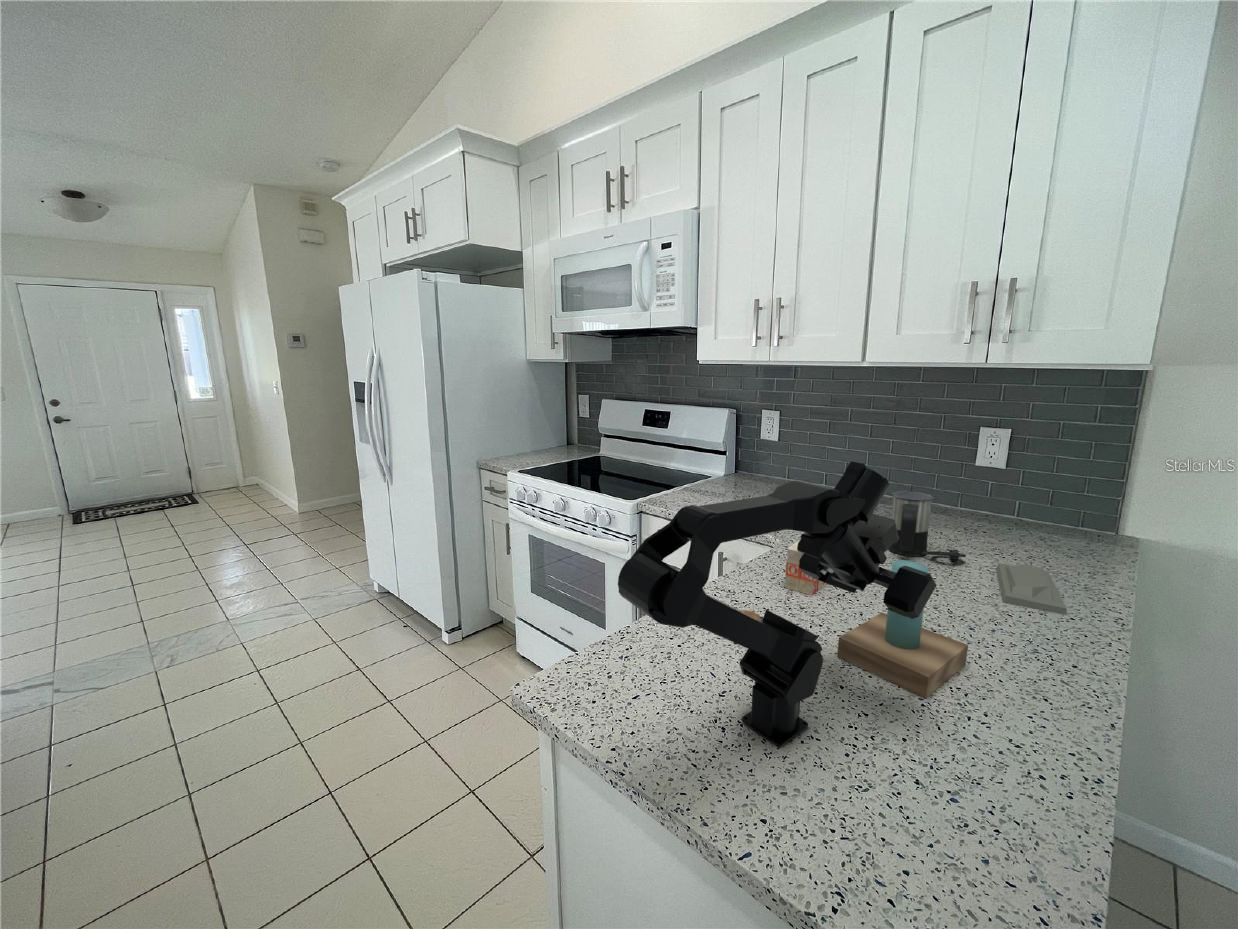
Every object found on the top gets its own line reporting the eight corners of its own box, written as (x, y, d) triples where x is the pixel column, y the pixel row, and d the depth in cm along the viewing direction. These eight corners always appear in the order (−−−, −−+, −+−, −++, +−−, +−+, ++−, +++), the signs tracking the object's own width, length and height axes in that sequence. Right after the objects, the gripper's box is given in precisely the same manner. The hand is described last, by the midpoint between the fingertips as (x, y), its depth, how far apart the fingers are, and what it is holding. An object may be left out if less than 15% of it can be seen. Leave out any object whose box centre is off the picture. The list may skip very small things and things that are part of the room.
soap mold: (1001, 605, 105) (1003, 589, 105) (994, 571, 122) (996, 557, 121) (1066, 617, 100) (1069, 600, 99) (1050, 580, 117) (1053, 565, 116)
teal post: (920, 652, 82) (929, 574, 79) (885, 645, 84) (892, 569, 81) (918, 637, 86) (926, 563, 84) (884, 630, 88) (891, 558, 86)
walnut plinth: (926, 698, 76) (928, 677, 76) (837, 656, 87) (838, 637, 87) (965, 664, 84) (968, 645, 84) (880, 630, 95) (881, 612, 95)
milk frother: (882, 543, 140) (887, 489, 137) (948, 547, 136) (955, 492, 133) (897, 563, 126) (902, 504, 123) (970, 568, 122) (978, 507, 120)
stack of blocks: (813, 596, 110) (816, 541, 107) (784, 589, 113) (786, 535, 111) (844, 565, 126) (847, 516, 123) (817, 559, 130) (820, 511, 127)
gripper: (936, 517, 66) (971, 579, 74) (815, 487, 82) (854, 542, 90) (893, 589, 64) (934, 646, 72) (777, 544, 80) (820, 595, 87)
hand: (881, 601), depth 80 cm, fingers open, 9 cm apart
